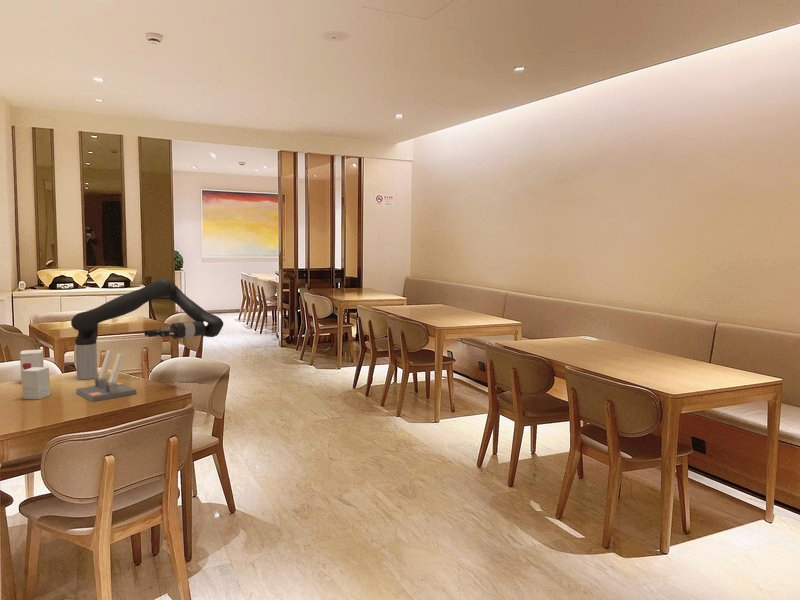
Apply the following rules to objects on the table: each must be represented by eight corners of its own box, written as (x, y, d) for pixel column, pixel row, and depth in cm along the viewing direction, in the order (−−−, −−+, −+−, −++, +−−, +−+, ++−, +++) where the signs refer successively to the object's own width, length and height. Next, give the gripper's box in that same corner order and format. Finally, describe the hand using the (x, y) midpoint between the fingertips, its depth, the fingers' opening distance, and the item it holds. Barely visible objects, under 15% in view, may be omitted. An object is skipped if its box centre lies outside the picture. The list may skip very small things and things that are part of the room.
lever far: (96, 382, 249) (107, 349, 252) (101, 382, 251) (112, 350, 254) (98, 383, 247) (109, 350, 250) (103, 384, 249) (114, 351, 252)
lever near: (106, 386, 241) (117, 353, 244) (111, 387, 243) (122, 354, 246) (108, 387, 239) (120, 353, 242) (114, 388, 241) (125, 355, 244)
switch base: (76, 393, 246) (75, 380, 246) (118, 386, 259) (118, 373, 259) (92, 401, 233) (92, 388, 232) (136, 394, 246) (135, 380, 245)
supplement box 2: (51, 395, 242) (49, 367, 241) (38, 399, 235) (36, 370, 234) (35, 394, 243) (34, 366, 242) (22, 399, 236) (20, 370, 235)
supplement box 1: (20, 384, 261) (19, 353, 260) (22, 380, 269) (20, 350, 267) (43, 382, 265) (41, 351, 264) (44, 378, 273) (43, 348, 272)
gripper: (175, 321, 269) (139, 324, 256) (189, 323, 259) (152, 327, 246) (176, 336, 269) (140, 340, 256) (190, 339, 260) (153, 343, 247)
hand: (146, 333), depth 252 cm, fingers open, 3 cm apart
